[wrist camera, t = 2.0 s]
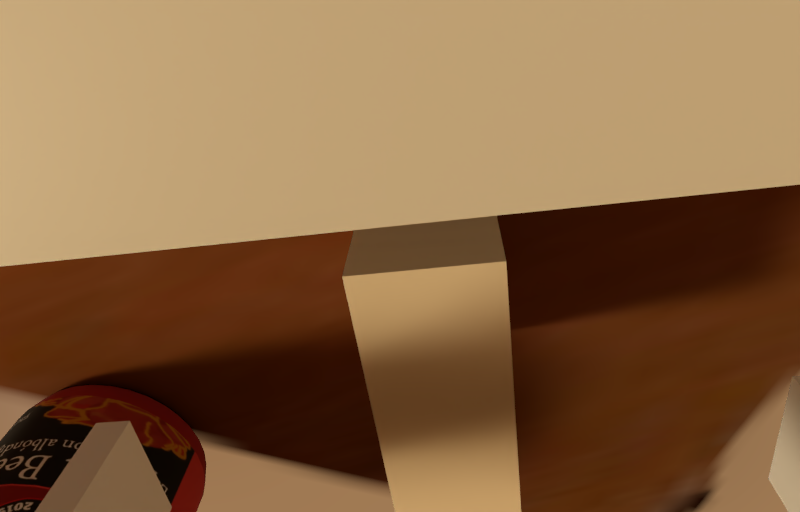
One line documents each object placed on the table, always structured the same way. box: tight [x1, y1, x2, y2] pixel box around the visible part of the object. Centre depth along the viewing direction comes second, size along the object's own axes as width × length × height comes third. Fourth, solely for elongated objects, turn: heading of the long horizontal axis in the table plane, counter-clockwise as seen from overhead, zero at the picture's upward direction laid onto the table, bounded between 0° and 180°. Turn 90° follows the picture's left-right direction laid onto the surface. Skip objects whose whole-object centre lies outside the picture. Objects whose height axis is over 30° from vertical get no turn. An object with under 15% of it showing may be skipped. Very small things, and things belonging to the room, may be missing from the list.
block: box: [342, 216, 521, 512], centre depth 15 cm, size 7×3×7 cm, turn 8°
